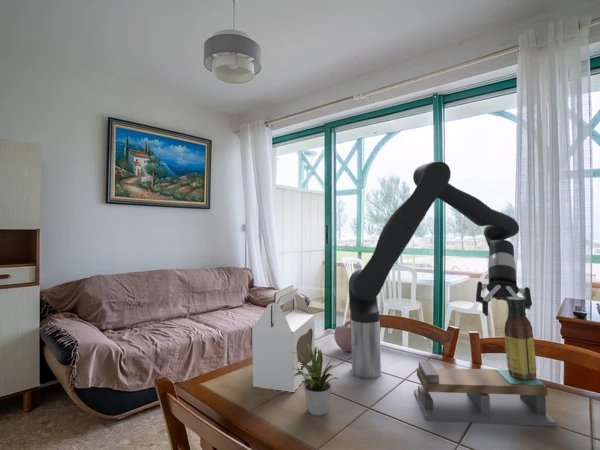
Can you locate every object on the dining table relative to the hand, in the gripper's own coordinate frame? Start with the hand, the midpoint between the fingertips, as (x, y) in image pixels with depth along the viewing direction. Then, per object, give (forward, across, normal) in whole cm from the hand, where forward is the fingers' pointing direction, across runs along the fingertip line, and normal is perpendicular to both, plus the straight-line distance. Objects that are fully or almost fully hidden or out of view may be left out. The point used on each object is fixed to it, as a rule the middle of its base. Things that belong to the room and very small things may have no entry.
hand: (503, 317), depth 98 cm
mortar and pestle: (+11, -48, +26) cm, 56 cm away
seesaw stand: (+26, -6, +1) cm, 27 cm away
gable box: (+30, -61, +4) cm, 68 cm away
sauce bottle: (+17, +3, -2) cm, 17 cm away
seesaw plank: (+21, -7, -3) cm, 22 cm away
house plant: (+39, -45, -9) cm, 60 cm away
